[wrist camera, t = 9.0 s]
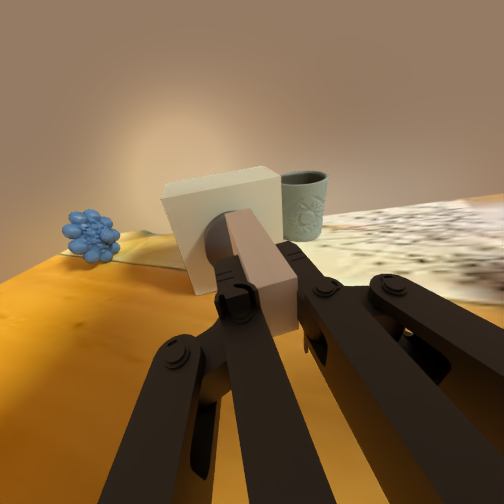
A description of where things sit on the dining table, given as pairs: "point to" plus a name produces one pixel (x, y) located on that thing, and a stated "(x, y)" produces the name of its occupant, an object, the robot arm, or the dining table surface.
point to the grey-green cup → (303, 204)
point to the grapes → (92, 236)
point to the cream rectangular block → (214, 203)
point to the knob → (217, 239)
